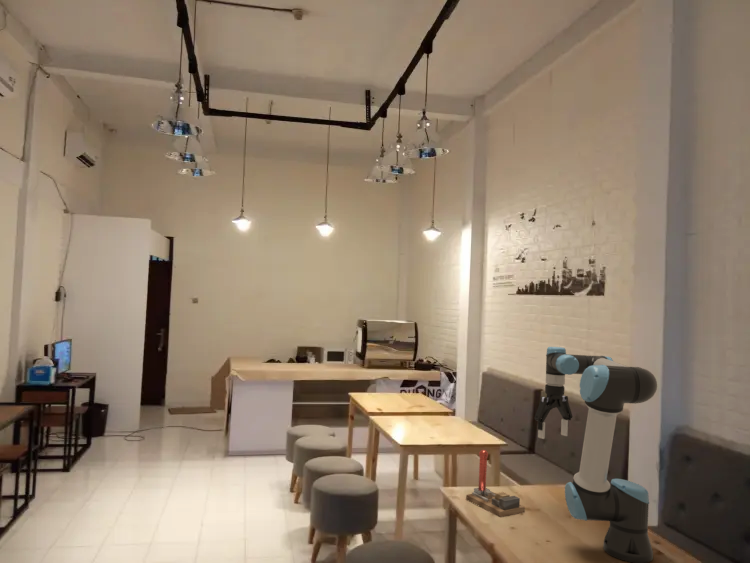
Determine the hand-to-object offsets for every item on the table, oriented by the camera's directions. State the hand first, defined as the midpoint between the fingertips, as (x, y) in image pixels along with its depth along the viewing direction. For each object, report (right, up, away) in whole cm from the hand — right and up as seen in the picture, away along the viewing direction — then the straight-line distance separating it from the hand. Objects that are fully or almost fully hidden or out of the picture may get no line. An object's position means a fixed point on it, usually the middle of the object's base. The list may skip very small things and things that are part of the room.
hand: (552, 436), depth 223 cm
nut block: (-22, -25, -5) cm, 34 cm away
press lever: (-27, -25, +3) cm, 37 cm away
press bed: (-24, -27, -2) cm, 37 cm away
